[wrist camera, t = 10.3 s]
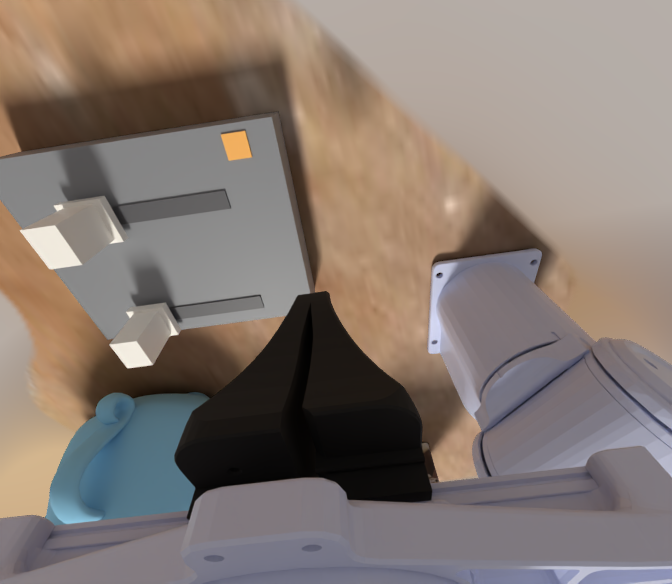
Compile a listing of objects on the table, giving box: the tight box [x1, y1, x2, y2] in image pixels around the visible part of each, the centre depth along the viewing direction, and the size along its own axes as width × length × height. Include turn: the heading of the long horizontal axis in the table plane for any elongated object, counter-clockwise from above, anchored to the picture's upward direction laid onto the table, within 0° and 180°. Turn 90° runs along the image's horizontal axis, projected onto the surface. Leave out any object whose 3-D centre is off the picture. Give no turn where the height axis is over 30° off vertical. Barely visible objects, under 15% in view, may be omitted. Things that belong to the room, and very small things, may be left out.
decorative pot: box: [45, 392, 210, 526], centre depth 28 cm, size 16×16×14 cm
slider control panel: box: [0, 112, 315, 340], centre depth 19 cm, size 12×15×3 cm
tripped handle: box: [20, 196, 128, 269], centre depth 15 cm, size 2×2×3 cm
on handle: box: [109, 303, 181, 368], centre depth 19 cm, size 2×2×3 cm
